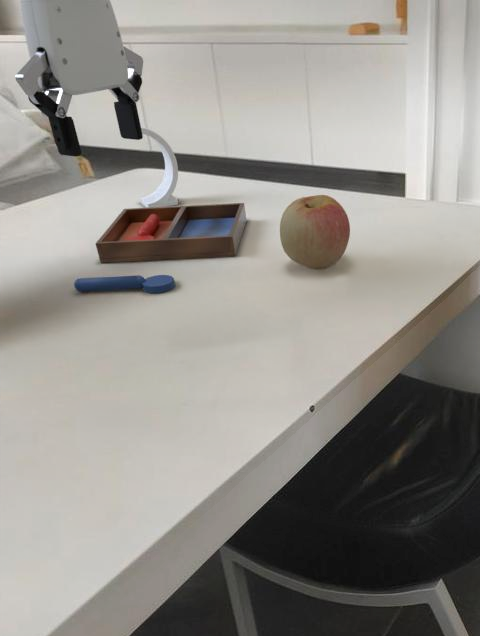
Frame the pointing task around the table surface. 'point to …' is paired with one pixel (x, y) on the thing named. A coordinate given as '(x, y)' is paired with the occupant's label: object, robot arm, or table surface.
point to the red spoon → (147, 228)
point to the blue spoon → (126, 283)
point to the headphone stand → (168, 184)
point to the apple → (315, 231)
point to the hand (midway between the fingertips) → (102, 146)
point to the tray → (175, 233)
